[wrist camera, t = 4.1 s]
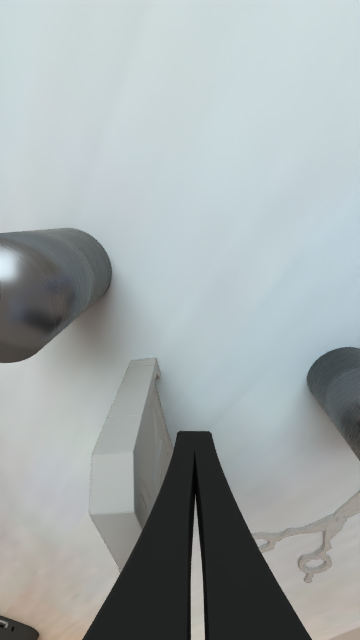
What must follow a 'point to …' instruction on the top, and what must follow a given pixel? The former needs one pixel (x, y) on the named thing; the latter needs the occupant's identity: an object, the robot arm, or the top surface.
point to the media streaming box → (16, 630)
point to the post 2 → (339, 391)
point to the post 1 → (46, 286)
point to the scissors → (327, 524)
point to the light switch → (129, 460)
